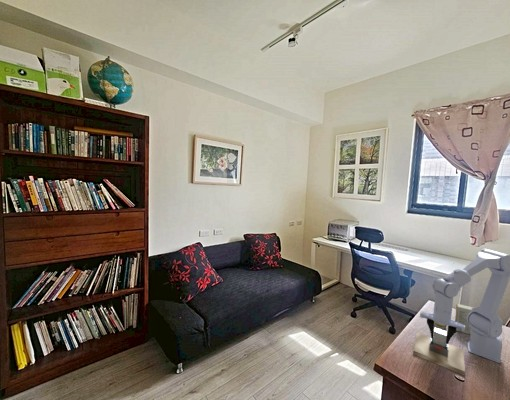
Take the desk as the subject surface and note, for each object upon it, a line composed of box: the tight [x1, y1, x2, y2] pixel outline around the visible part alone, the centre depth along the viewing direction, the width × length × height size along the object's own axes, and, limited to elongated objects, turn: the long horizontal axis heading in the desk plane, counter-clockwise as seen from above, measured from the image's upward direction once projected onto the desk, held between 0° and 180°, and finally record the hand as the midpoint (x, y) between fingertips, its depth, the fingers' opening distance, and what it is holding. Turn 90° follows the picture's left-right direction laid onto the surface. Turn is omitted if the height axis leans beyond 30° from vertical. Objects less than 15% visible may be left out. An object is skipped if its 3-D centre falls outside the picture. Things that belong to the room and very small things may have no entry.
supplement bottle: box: [434, 321, 448, 329], centre depth 117 cm, size 5×5×10 cm
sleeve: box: [429, 336, 449, 357], centre depth 97 cm, size 6×7×3 cm
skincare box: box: [454, 303, 474, 335], centre depth 114 cm, size 6×4×12 cm
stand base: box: [412, 332, 466, 376], centre depth 97 cm, size 16×16×2 cm
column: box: [433, 327, 448, 348], centre depth 97 cm, size 4×4×8 cm
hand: (439, 339), depth 97 cm, fingers open, 4 cm apart
